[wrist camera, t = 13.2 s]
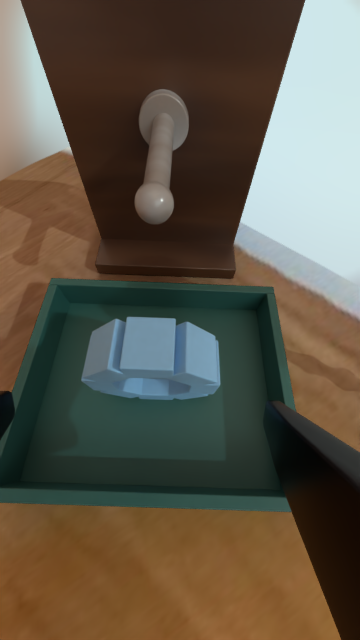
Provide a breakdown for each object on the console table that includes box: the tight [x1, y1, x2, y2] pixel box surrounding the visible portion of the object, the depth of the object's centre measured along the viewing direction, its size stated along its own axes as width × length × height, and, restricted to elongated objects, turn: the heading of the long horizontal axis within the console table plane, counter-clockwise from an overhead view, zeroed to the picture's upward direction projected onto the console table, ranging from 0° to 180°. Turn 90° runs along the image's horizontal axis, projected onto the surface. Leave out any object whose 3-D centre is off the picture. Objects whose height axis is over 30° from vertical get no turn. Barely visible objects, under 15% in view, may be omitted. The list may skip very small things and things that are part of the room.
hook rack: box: [21, 0, 305, 278], centre depth 15 cm, size 11×12×15 cm
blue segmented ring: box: [81, 317, 220, 400], centre depth 14 cm, size 2×7×7 cm, turn 88°
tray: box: [0, 278, 296, 512], centre depth 16 cm, size 13×16×3 cm
